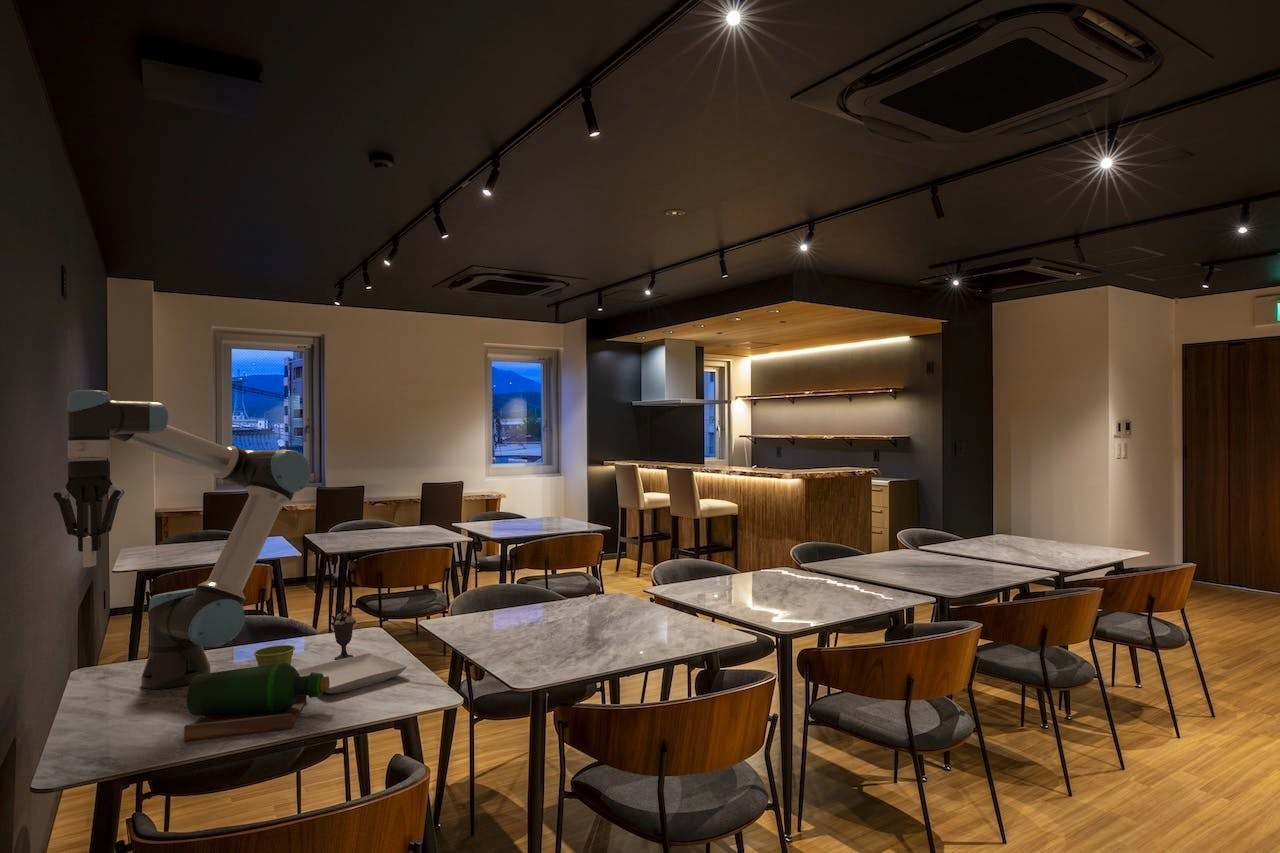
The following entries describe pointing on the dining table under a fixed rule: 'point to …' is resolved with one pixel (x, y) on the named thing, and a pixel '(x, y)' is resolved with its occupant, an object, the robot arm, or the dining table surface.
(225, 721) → the cradle
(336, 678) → the salad plate
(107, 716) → the dining table surface
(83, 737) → the dining table surface
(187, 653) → the robot arm
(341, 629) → the sundae
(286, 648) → the plant pot
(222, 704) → the bottle
